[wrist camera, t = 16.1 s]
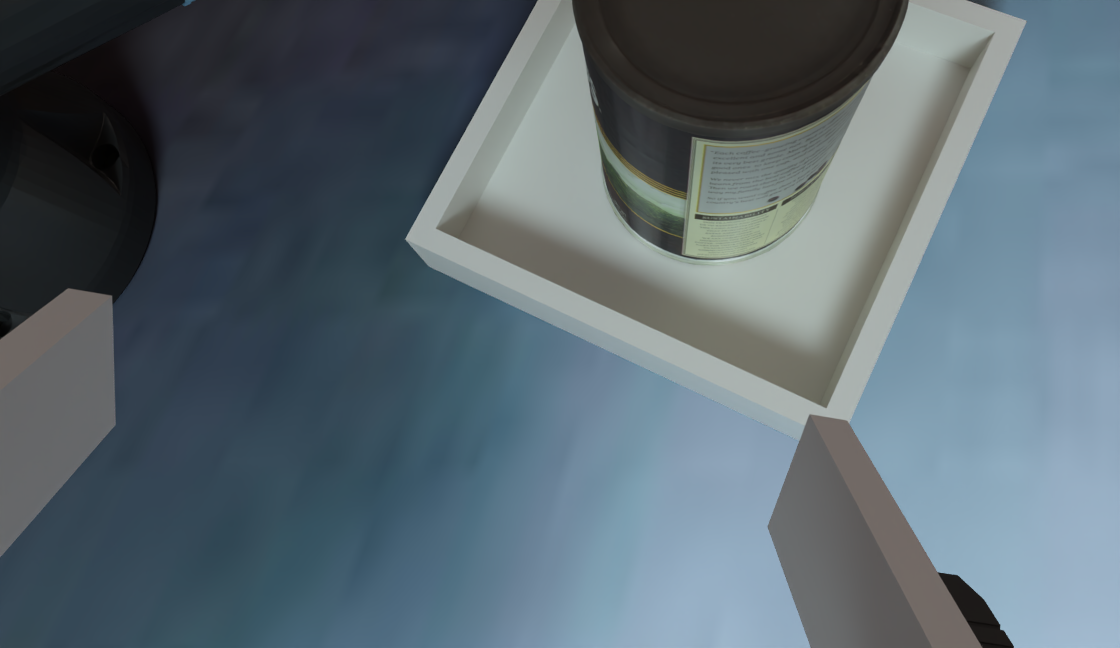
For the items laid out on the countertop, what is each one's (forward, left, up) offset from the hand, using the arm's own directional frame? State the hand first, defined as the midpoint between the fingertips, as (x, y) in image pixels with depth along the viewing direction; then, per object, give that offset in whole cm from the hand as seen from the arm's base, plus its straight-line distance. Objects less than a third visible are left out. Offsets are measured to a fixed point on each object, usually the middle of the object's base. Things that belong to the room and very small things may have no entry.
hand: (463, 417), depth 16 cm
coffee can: (-1, +16, -22) cm, 27 cm away
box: (-1, +16, -23) cm, 28 cm away
